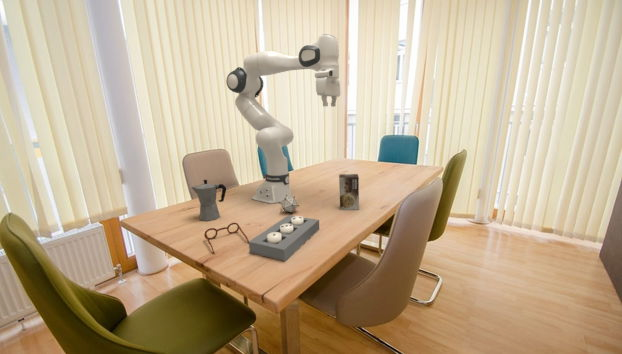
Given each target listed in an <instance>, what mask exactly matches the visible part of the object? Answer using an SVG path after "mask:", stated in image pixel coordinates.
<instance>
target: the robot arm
mask: <svg viewBox="0 0 622 354" xmlns="http://www.w3.org/2000/svg"><path fill="white" fill-rule="evenodd" d="M339 49H340V48H339V42H338V39H337V38H336V36H334V35H331V34H326V33H325V34H320V35H319V36H318V38H317V39H315V40H314V41H313V42H311V43H309V44H307V45H304V46H303V47H301V49H300V50H299V52H298V55H296V56H293V55H286V54H284V53H280V52H277V51H273V50H263V51H258V52H255V53H251V54H249V55H246V57H245V58H244V60H243V66H242V67H241V66H240V67H239V66H238V67H236V69H235V70H234V69H233V70H232V71H230V72H229V74H227V77H226V86H227V88H228V89H229V90H230V91H231V92H233V93H235V94H238V95H237V96H236V98H235V101H234V103H235V107H236V109H237V110H238V111H239V114H241V116H242V117H244V119H245V120H246V122H247V123H248V124H249V125H250V126H251V127H252V128H253V129H254V130H255V131H257V132H256V134H255V143H256V145H257V146H258V147H259V149H261V151H262V152H263V155H264V157H265V161H266V171H267V173H266V174H264V175H263V178H265V180H264V181H262V182H261V184H259V185H258V186H257V187H256V190H255V191H256V192H255V194H254V195H253V196H252V197H251V199H252V200H254V201H258V202H261V203H265V204H275V203H277V204H278V203H279V202H282V201H283V199H284V198H285V197H286V195H287V196H289V197H293V195H292V192H291V188H290V172H289V167H288V165H289V164H288V158H287V157H286V156H285V155H284V153H283V149H282V148H283V147H286V146H288V145H289V144H291V143H292V142H293V141H294V131H293V130H292V129H291V128H290V127H288V126H286V125H284V124H282V123H281V122H280V121H278V120H277V119H276V118H275V117H273V116H272V115H271V114H270V113H268V111H267V110H266V109H265V108H264V107H263V106H262V105H261V104H260V103H259V102H258V100H257V99H256V98H258V97H259V96H260V93H261V92H262V91H263V88H264V80H263V78H262V77H263V76H264V77H266V76H271V75H276V74H281V73H285V72H290V71H297V70H298V71H299V70H313V71H315V72H314V77H315V91H316V94H317V96H320V97H321V100H322V107H328V106H329V102H328V97H331V102H330V106H331V107H333V108H334V107H337V100H338V99H337V98H339V97H340V96H341V83H340V80H339V78H340V66H339V56H340V54H339V51H340V50H339ZM261 76H262V77H261Z"/></svg>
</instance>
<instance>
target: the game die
mask: <svg viewBox="0 0 622 354" xmlns="http://www.w3.org/2000/svg"><path fill="white" fill-rule="evenodd" d="M295 197H296V196H292V197H289V196H287V195H286V197H285V198H284V199H283V201H282V202H278V204H280V205H281V207H282V210H283V212H282V213H285V212H288V213H291V214H290V215H293V212H294V211H295V210H296V208H298V207H300V205H298V203H297V200H296V198H295Z"/></svg>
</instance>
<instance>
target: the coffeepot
mask: <svg viewBox="0 0 622 354" xmlns="http://www.w3.org/2000/svg"><path fill="white" fill-rule="evenodd" d="M191 189H192V190H193V191H194V193H195V194H196V195H197V197H198V202H199V205H200V206H199V221H202V222H212V221H215V220H217V219H219V218H220V217H221V215H220V212H219V208H218V204H217V201H218V202H219V203H222V202H224V199H225V196H226V193H227V187H226V186H225V185H224V184H222V183H209V182H208V179H203V183H202V184H199V185H194V186H192V187H191ZM218 189H222V190H221V196H220V199H218V200H217V190H218Z"/></svg>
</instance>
